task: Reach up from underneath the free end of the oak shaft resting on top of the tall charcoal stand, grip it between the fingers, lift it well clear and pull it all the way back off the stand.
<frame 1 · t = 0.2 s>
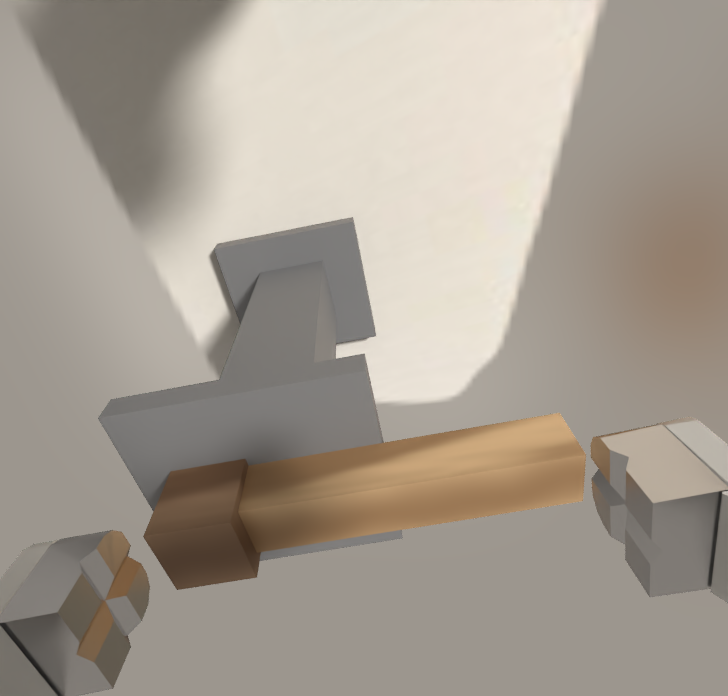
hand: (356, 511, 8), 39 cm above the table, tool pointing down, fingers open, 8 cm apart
charcoal stand: (300, 289, 48), on the table
oak shaft: (367, 467, 25), point 26 cm above the table, touching charcoal stand
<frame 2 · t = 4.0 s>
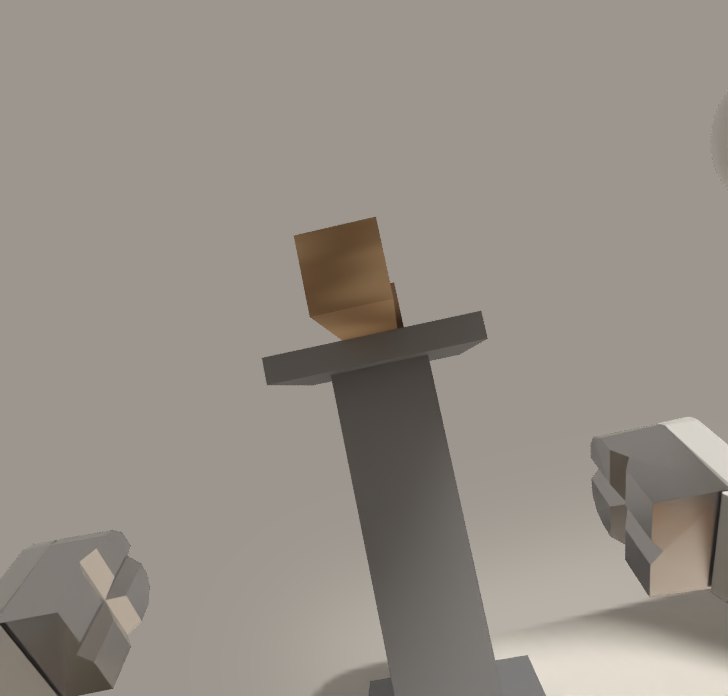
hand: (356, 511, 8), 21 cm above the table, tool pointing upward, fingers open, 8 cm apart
oak shaft: (371, 336, 27), point 26 cm above the table, touching charcoal stand
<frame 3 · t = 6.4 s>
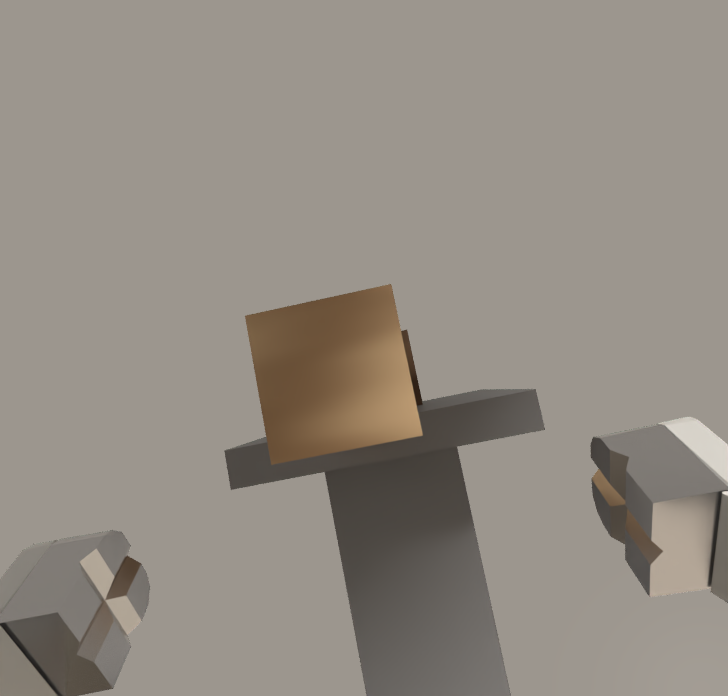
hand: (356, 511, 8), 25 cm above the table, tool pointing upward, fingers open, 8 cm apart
oak shaft: (377, 419, 19), point 26 cm above the table, touching charcoal stand
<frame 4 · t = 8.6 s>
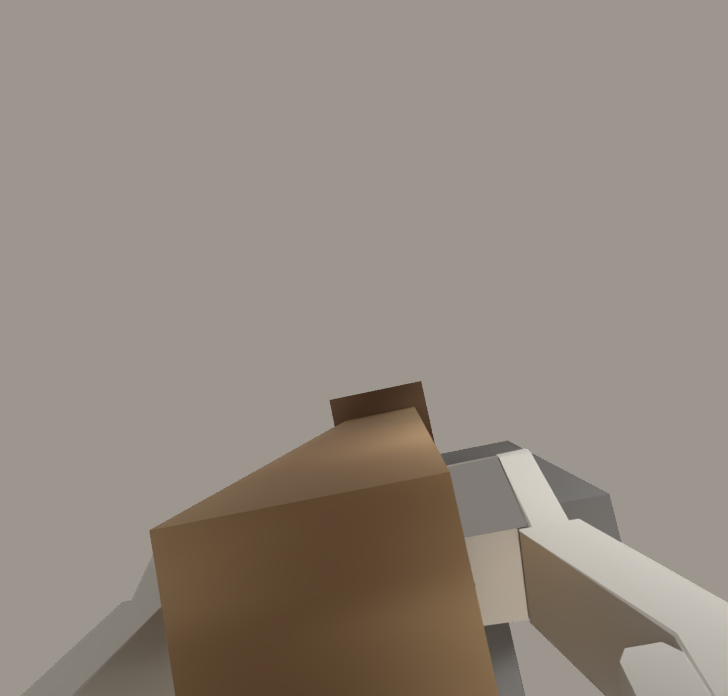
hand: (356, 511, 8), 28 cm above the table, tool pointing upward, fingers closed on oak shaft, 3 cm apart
oak shaft: (390, 524, 14), point 26 cm above the table, touching charcoal stand, gripper
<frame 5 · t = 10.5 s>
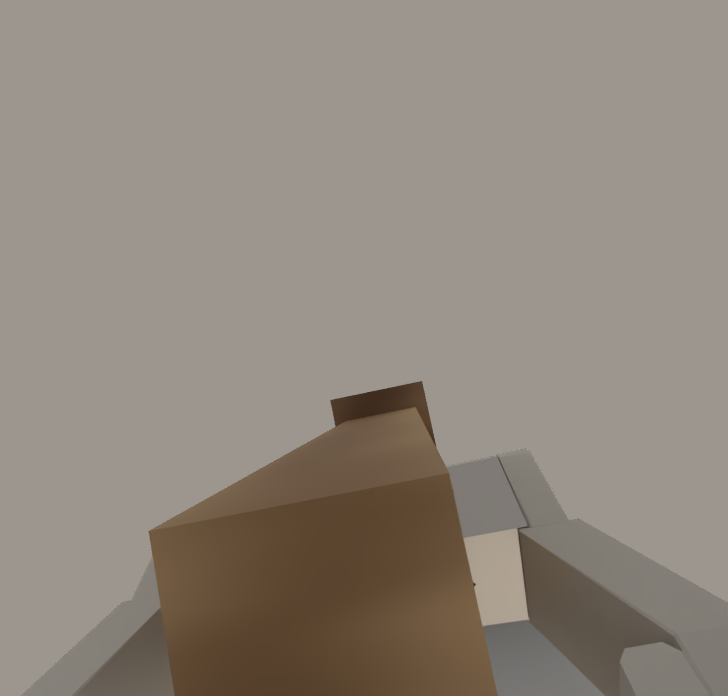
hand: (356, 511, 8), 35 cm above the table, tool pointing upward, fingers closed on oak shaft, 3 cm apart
oak shaft: (391, 524, 14), point 33 cm above the table, touching gripper
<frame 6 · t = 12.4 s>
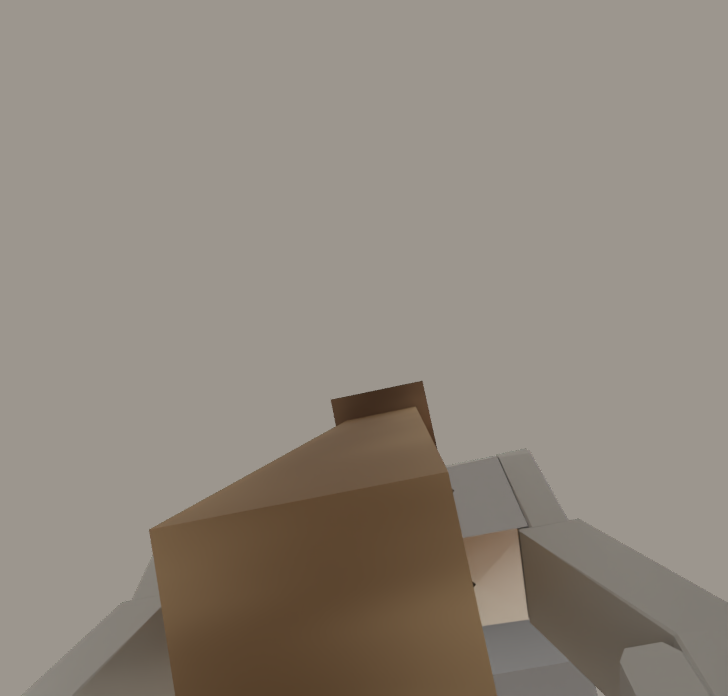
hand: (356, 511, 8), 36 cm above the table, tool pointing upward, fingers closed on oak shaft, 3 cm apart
oak shaft: (391, 524, 14), point 34 cm above the table, touching gripper
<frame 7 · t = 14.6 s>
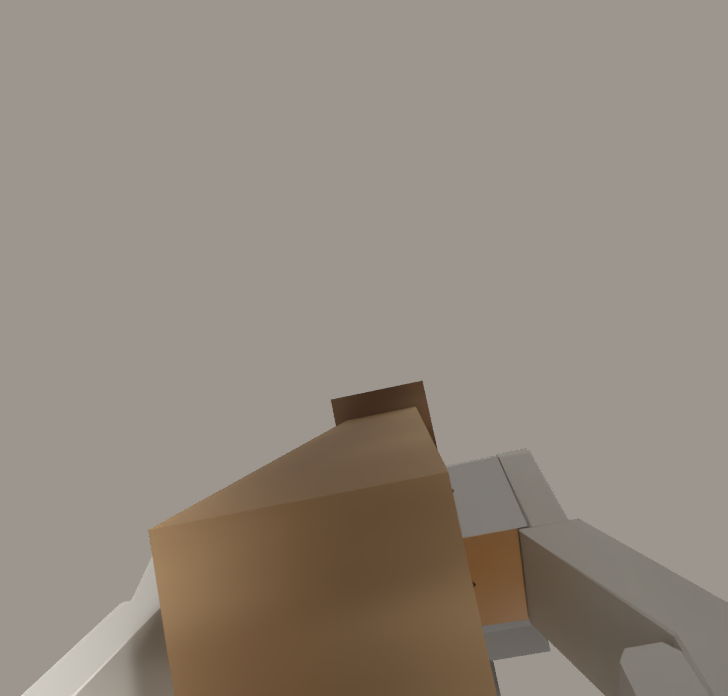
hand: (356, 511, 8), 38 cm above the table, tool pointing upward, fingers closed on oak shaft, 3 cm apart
oak shaft: (391, 524, 14), point 36 cm above the table, touching gripper
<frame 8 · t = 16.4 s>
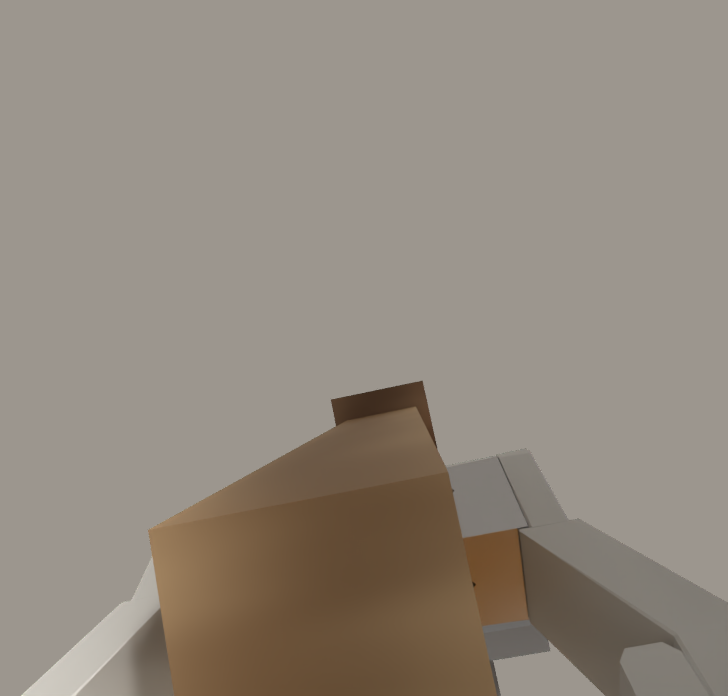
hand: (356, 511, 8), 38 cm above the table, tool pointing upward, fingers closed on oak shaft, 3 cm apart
oak shaft: (391, 524, 14), point 36 cm above the table, touching gripper
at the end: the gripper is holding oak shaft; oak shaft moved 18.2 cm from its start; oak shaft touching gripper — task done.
